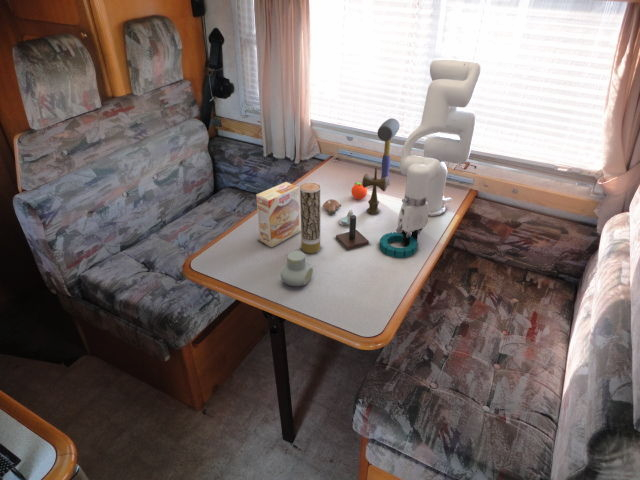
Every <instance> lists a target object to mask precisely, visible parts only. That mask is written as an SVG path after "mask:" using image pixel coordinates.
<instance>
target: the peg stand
mask: <svg viewBox="0 0 640 480" xmlns="http://www.w3.org/2000/svg"><path fill="white" fill-rule="evenodd" d="M354 215H355V214H353V215H352V216H350V225H348V226H349V227H348V230H349V231H347V232H343V233H339V234H336V235H335V239H336V241H338V242H339V243H340V245H342V246H343V248H345V249H346V251H350V250H354V249H356V248H361V247H364V246H368V245H369V242H370V241H369V240H368V239H367V238H366V237H365V236H364V235H363V234H362V233H361V232H360V231H359V230H357V219H356V217H357V215H355V216H354Z"/></svg>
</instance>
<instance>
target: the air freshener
mask: <svg viewBox="0 0 640 480" xmlns="http://www.w3.org/2000/svg"><path fill="white" fill-rule="evenodd" d="M313 272H314V269H313V266H312V265H311V264H310V263H309V262H307V260H306V253H305V252H304V251H301V250H292V251H290V252H288V253H287V255H286V263H285V264H284V265H283V267H282V269H281V272H280V276H279V277H280V279H281V281H282V282H283V283H284V284H286V285H288V286H291V287H301V286H306V285H307V284H308V283H309V282H310V280H311V278H312V275H313Z"/></svg>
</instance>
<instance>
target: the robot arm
mask: <svg viewBox="0 0 640 480" xmlns="http://www.w3.org/2000/svg"><path fill="white" fill-rule="evenodd" d="M481 74H482V67H481V64H480V62H479V61H476V60H468V59H458V58H457V59H456V58H447V57H446V58H435V59H433V60H432V61H431V63H430V64H429V75H430V79H431V81H430V83H429V84H428V88H427V92H426V96H425V102H424V107H423V111H422V114H421V121H420V124H419V126H418V127H417V128H416V129H415V130H413V131H412V132H411V133H410V134H409V135H408V137H407V138H406V140H405V142H404V144H403V146H402V149H401V155H400V160H399V166H398V167H399V169H398V170H399V172H400V174H402V175H403V176H406V182H405V190H404V198H403V199H401V207H400V210H399V215H398V220H397V221H398V222H397V223H398V224H397V227H396V229H395V232H398V233H400V234H403V243H402V244H403V245H404V246H405V247H407V246H408V245H409V242H410V237H409V235H410V236H412V237H413V238H415V239H416V240H417V241H418V240H419V235H420V234H421V232H422V230H423V229H425V228H426V227H427V226H428V223H429V216H430V217H436V216H441V215H443V214H444V213H445V211H446V206H445V204H447V203H451V202H452V197H446V198H445V195H444V194H445V189H446V183H447V177H448V169H447V168H448V167H447V165H446V163H448V164H449V163H450V164H456V165H464V164H466V163H467V162H468V161H469V157H470V154H471V150H472V145H473V138H474V133H475V129H476V122H477V118H476V117H477V116H476V113H475V112H474V111H473V110H471V109H468V108H467V109H465V108H466V107H468V106H469V105H470V103H471V101H472V99H473V96H474V94H475V90H476V88H477V85H478V83H479V81H480V78H481ZM437 133H441V134H447V135H455V136H458V137H459V138H457V137H451V136H446V135H437ZM432 134H433V135H432ZM435 134H436V135H435ZM428 135H430V136H428ZM425 136H428V137H427V138H426V139H425V140H424V144H423V156H421V155H415V154H412V149H413V147H414V145H415V144H416V142H417V141H419V140H420V139H422V138H423V137H425ZM410 233H411V234H410Z"/></svg>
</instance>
